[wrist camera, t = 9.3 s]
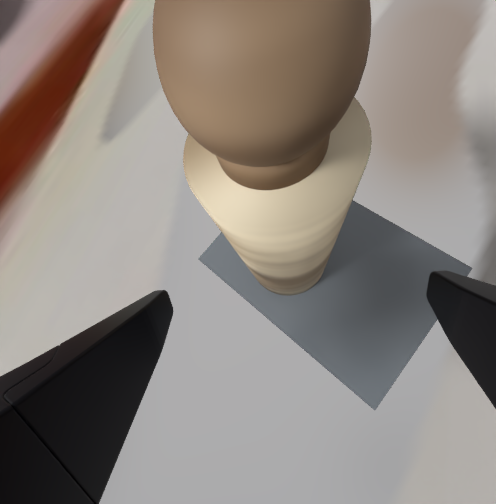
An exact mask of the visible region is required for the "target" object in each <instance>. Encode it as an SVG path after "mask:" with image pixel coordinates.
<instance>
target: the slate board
mask: <svg viewBox="0 0 496 504" xmlns="http://www.w3.org/2000/svg"><path fill="white" fill-rule="evenodd" d="M199 260H200V261H201V262H202V263H203V264H205V265H206V266H207V267H208V268H209V269H210V270H212V271H213V272H214V273H215V274H217V276H219V277H220V278H221V279H222V280H223V281H224V282H226V283H227V284H228V285H229V286H230V287H231V288H233V289H234V290H235V291H236V292H237V293H238V294H240V295H241V296H242V297H243V298H244V299H246V300H247V301H248V302H249V303H250V304H251V305H252V306H254V307H255V308H256V309H257V310H258V311H259V312H261V313H262V314H263V315H264V316H265V317H266V318H268V319H269V320H270V321H271V322H272V323H273V324H275V325H276V326H277V327H278V328H279V329H280V330H282V331H283V332H284V333H285V334H286V335H287V336H289V337H290V338H291V339H292V340H293V341H294V342H296V343H297V344H298V345H299V346H300V347H301V348H303V349H304V350H305V351H306V352H307V353H309V354H310V355H311V356H312V357H313V358H314V359H315V360H317V361H318V362H319V363H320V364H321V365H323V366H324V367H325V368H326V369H327V370H328V371H329V372H331V373H332V374H333V375H334V376H335V377H336V378H338V379H339V380H340V381H341V382H342V383H343V384H345V385H346V386H347V387H348V388H349V389H350V390H352V391H353V392H354V393H355V394H356V395H358V396H359V397H360V398H361V399H362V400H363V401H364V402H366V403H367V404H368V405H369V406H371V408H373V409H374V410H376V408H377V407H378V405H379V404H380V402H381V401H382V399H383V398H384V396H385V395H386V394H387V392H388V391H389V389H390V388H391V386H392V385H393V383H394V382H395V381H396V379H397V378H398V376H399V375H400V373H401V372H402V370H403V369H404V367H405V366H406V364H407V363H408V361H409V360H410V359H411V357H412V356H413V354H414V353H415V351H416V350H417V348H418V347H419V345H420V344H421V343H422V341H423V340H424V338H425V337H426V335H427V334H428V332H429V331H430V329H431V328H432V326H433V325H434V323H435V322H436V321H437V317H436V315H435V313H434V311H433V310H432V308H431V306H430V304H429V302H428V300H427V296H426V292H427V286H428V281H429V276H430V273H431V272H433V271H442V270H447V271H451V272H454V273H457V274H460V275H463V276H466V277H467V275H468V274H469V272H470V271H471V269H472V268H471V267H469V266H468V265H466V264H464V263H462V262H460V261H459V260H457V259H455V258H453V257H452V256H450V255H448V254H446V253H445V252H443V251H441V250H439V249H437V248H436V247H434V246H432V245H431V244H429V243H427V242H425V241H423V240H422V239H420V238H418V237H416V236H415V235H413V234H411V233H409V232H407V231H406V230H404V229H402V228H401V227H399V226H397V225H395V224H393V223H392V222H390V221H388V220H386V219H384V218H383V217H381V216H379V215H378V214H376V213H374V212H372V211H370V210H369V209H367V208H365V207H364V206H362V205H360V204H358V203H356V202H355V201H353V200H352V202H351V205H350V207H349V210H348V212H347V215H346V217H345V219H344V222H343V224H342V227H341V229H340V232H339V234H338V237H337V239H336V242H335V244H334V247H333V249H332V252H331V254H330V257H329V259H328V262H327V264H326V267H325V269H324V272H323V274H322V276H321V278H320V279H319V281H318V282H317V283H316V284H315V285H314V286H313V287H312V288H310V289H309V290H307V291H305V292H303V293H300V294H297V295H289V296H286V295H279V294H276V293H273V292H271V291H269V290H267V289H266V288H264V287H263V286H262V285H261V284H260V283H259V282H258V281H257V279H256V278H255V276H254V275H253V274H252V272H251V271H250V270H249V268H248V267H247V266H246V264H245V263H244V262H243V260H242V259H241V257H240V256H239V255H238V253H237V252H236V251H235V249H234V248H233V247H232V245H231V244H230V242H229V241H228V240H227V238H226V237H225V236H224V234H223V233H222V232H221V234H220V235H219V236H218V237H217V238H216V239H215V240H214V242H213V243H212V244H211V245H210V246H209V247H208V249H207V250H206V251H205V252H204V253H203V254H202V255H201V256H200V258H199Z"/></svg>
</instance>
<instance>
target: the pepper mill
mask: <svg viewBox="0 0 496 504" xmlns="http://www.w3.org/2000/svg"><path fill="white" fill-rule="evenodd" d="M370 35H371V10H370V0H155V5H154V15H153V42H154V55H155V60H156V65H157V70H158V74H159V78H160V81H161V84H162V88H163V91H164V93H165V95H166V97H167V100H168V102H169V104H170V106H171V108H172V110H173V112H174V114H175V115H176V117H177V118H178V120H179V121H180V123H181V124H182V126H183V127H184V128H185V130H186V131H187V132H188V133H189V134H188V137H187V139H186V143H185V148H184V156H183V163H184V172H185V176H186V179H187V181H188V184H189V186H190V188H191V190H192V191H193V193H194V195H195V196H196V198H197V199H198V200H199V202H200V203H201V204H202V206H203V207H204V208H205V210H206V211H207V213H208V214H209V215H210V216H211V218H212V219H213V221H214V222H215V223H216V225H217V226H218V227H219V229H220V230H221V232H222V233H223V234H224V236H225V237H226V238H227V240H228V241H229V242H230V244H231V245H232V247H233V248H234V249H235V251H236V252H237V253H238V255H239V256H240V257H241V259H242V260H243V262H244V263H245V264H246V266H247V267H248V268H249V270H250V271H251V272H252V274H253V275H254V276H255V278H256V279H257V281H258V282H259V283H260V284H261V285H262V286H263V287H264V288H266V289H267V290H269V291H271V292H273V293H276V294H279V295H286V296H289V295H297V294H300V293H303V292H305V291H307V290H309V289H310V288H312V287H313V286H314V285H315V284H316V283H317V282H318V281H319V279H320V278H321V276H322V274H323V272H324V269H325V267H326V264H327V262H328V259H329V257H330V254H331V252H332V249H333V247H334V244H335V242H336V239H337V237H338V234H339V232H340V229H341V227H342V224H343V222H344V219H345V217H346V215H347V212H348V210H349V207H350V205H351V202H352V200H353V197H354V195H355V192H356V189H357V187H358V185H359V182H360V180H361V177H362V175H363V172H364V170H365V167H366V165H367V162H368V159H369V155H370V150H371V142H372V141H371V129H370V124H369V121H368V118H367V116H366V113H365V111H364V109H363V108H362V106H361V105H360V103H359V102H358V101H357V100H356V99H355V97H354V96H355V94H356V92H357V90H358V87H359V84H360V81H361V78H362V75H363V72H364V69H365V66H366V61H367V56H368V51H369V44H370Z"/></svg>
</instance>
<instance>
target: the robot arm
mask: <svg viewBox="0 0 496 504" xmlns="http://www.w3.org/2000/svg"><path fill="white" fill-rule="evenodd" d="M426 296H427V300H428V302H429V304H430V306H431V308H432V310H433V311H434V313H435V315H436V317H437V319H438V321H439V323H440V324H441V326H442V328H443V330H444V332H445V334H446V336H447V337H448V339H449V341H450V343H451V344H452V346H453V347H454V349H455V350H456V352H457V353H458V355H459V356H460V357H461V359H462V360H463V362H464V363H465V365H466V366H467V368H468V369H469V371H470V372H471V373H472V375H473V376H474V378H475V379H476V381H477V382H478V384H479V385H480V387H481V388H482V389H483V391H484V392H485V394H486V395H487V397H488V398H489V400H490V401H491V403H492V404H493V406H494V407H495V408H496V286H494V285H491V284H488V283H485V282H482V281H478V280H475V279H472V278H469V277H466V276H463V275H460V274H457V273H454V272H451V271H447V270H442V271H433V272H431V273H430V276H429V281H428V286H427V292H426ZM172 316H173V307H172V304H171V301H170V298H169V295H168V293H167V291H165V290H157V291H154V292H152V293H150V294H148V295H147V296H145V297H143V298H141V299H139V300H138V301H136V302H134V303H132V304H131V305H129V306H127V307H125V308H123V309H122V310H120V311H118V312H116V313H115V314H113V315H111V316H109V317H108V318H106V319H104V320H102V321H100V322H99V323H97V324H95V325H93V326H92V327H90V328H88V329H86V330H84V331H83V332H81V333H79V334H77V335H76V336H74V337H72V338H70V339H69V340H67V341H65V342H63V343H61V344H60V346H59V345H58V346H56V347H54V348H52V349H51V350H49V351H47V352H45V353H44V354H42V355H40V356H38V357H36V358H34V359H33V360H31V361H29V362H27V363H25V364H23V365H22V366H20V367H18V368H16V369H14V370H12V371H10V372H8V373H6V374H4V375H3V376H1V377H0V504H99V502H100V499H101V497H102V494H103V492H104V490H105V487H106V485H107V482H108V480H109V478H110V475H111V473H112V470H113V468H114V466H115V463H116V461H117V458H118V456H119V454H120V451H121V449H122V446H123V444H124V441H125V439H126V437H127V434H128V432H129V429H130V427H131V425H132V422H133V420H134V417H135V415H136V412H137V410H138V408H139V405H140V403H141V400H142V398H143V396H144V393H145V391H146V388H147V386H148V383H149V381H150V379H151V376H152V374H153V371H154V369H155V366H156V364H157V362H158V359H159V357H160V354H161V352H162V349H163V345H164V343H165V339H166V335H167V333H168V329H169V325H170V322H171V319H172Z"/></svg>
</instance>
